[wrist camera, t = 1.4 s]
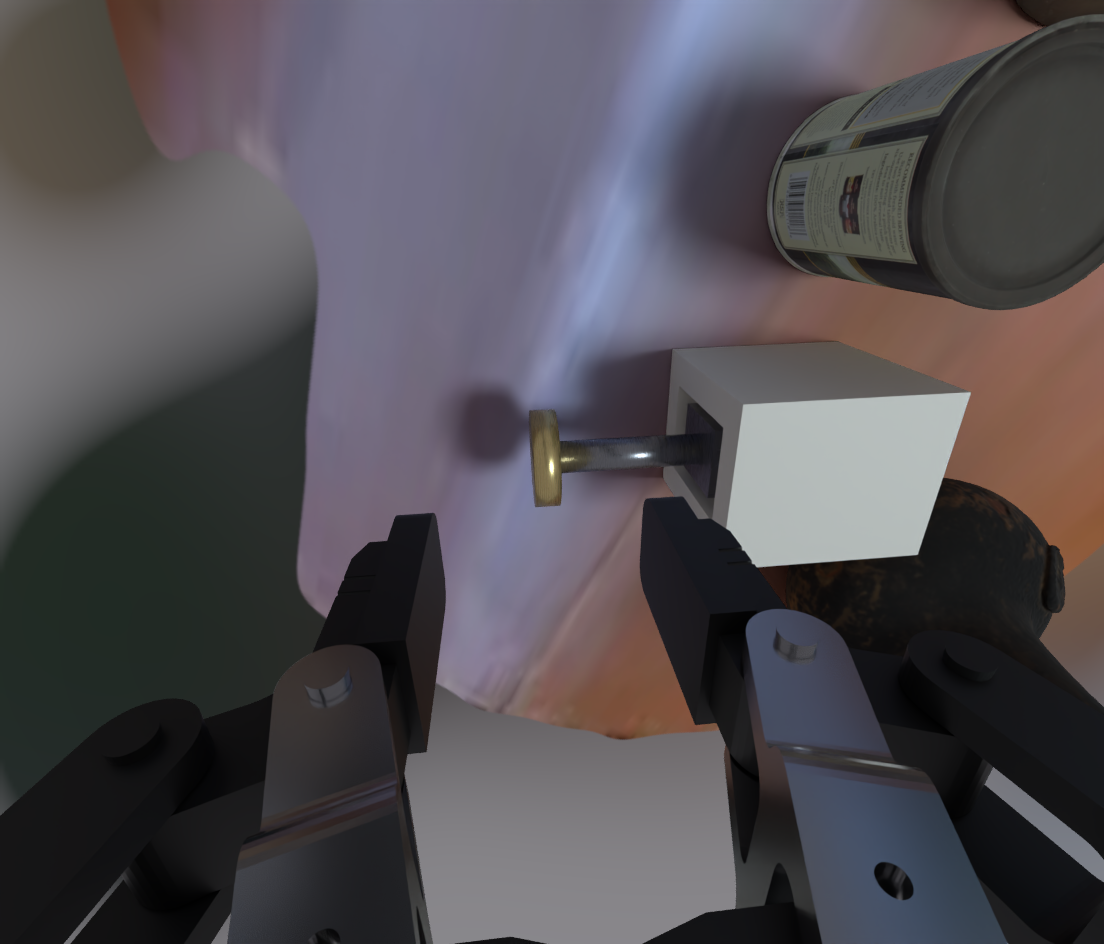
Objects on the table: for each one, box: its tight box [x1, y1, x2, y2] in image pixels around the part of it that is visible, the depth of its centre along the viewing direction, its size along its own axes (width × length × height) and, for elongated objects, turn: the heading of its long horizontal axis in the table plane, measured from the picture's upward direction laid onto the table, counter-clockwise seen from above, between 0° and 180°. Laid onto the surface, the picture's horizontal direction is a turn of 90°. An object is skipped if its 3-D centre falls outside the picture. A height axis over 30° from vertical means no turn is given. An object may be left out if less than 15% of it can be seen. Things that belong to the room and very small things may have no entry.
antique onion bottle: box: [786, 478, 1104, 715], centre depth 34 cm, size 18×18×28 cm
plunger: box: [529, 403, 723, 507], centre depth 34 cm, size 12×6×6 cm, turn 91°
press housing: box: [663, 341, 971, 567], centre depth 35 cm, size 12×10×12 cm
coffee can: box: [767, 14, 1104, 310], centre depth 28 cm, size 10×10×14 cm
